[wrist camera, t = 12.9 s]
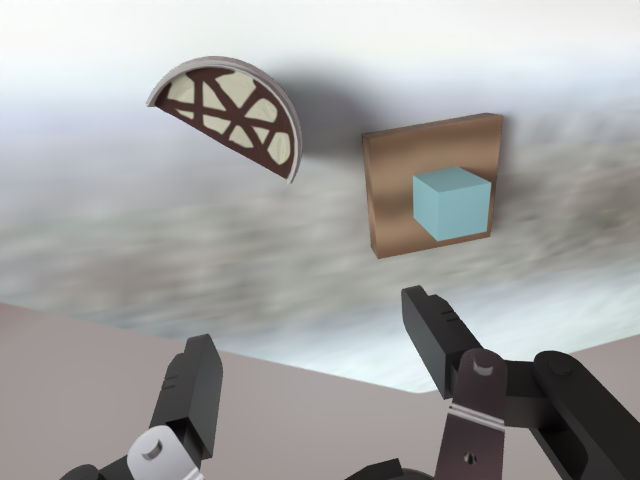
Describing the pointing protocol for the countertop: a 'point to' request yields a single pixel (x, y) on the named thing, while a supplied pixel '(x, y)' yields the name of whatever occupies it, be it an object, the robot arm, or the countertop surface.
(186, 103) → the food container
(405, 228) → the walnut base
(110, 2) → the countertop surface
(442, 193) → the teal block
